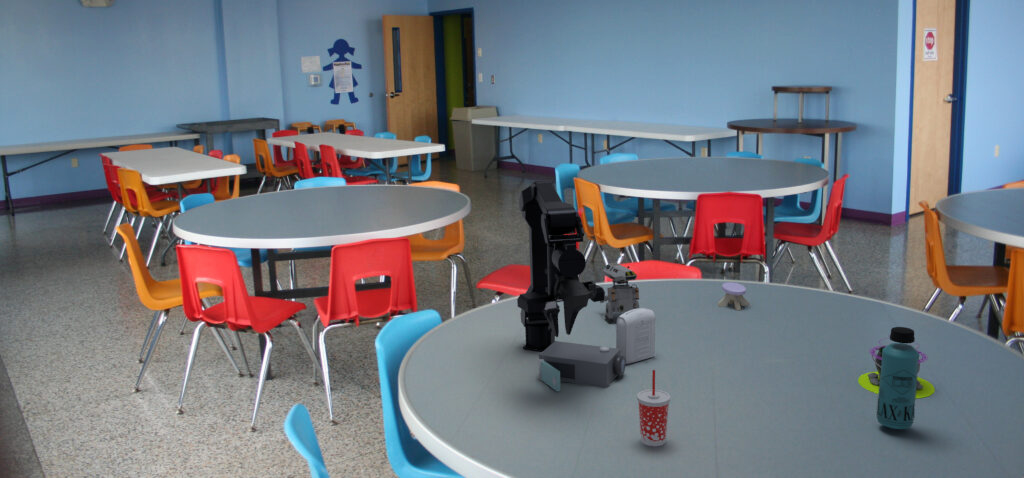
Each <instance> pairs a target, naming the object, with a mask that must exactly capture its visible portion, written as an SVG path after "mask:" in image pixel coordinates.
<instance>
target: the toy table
mask: <svg viewBox="0 0 1024 478" xmlns="http://www.w3.org/2000/svg"><path fill="white" fill-rule="evenodd" d="M721 290H722V291H723V292H724V293H725V295H724V296H723V297H722V299H720V300H719V301H718V303H717V306H718V307H719V308H722V307H725V308H726V307H728V305H730V304H731V305H732V304H734V309H735V310H737V311H741V310H742V308H741V307H743V306H744V307H745V306H747V307H748V306H750V305H751V303H750V301H748V300H747V299H746V298H745V297H744V296H743V295H745V294H747V293H746V292H747V288H746V286H744V285H743V284H740V283H737V282H731V281H730V282H729V281H727V282H724V283H722V285H721Z"/></svg>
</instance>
